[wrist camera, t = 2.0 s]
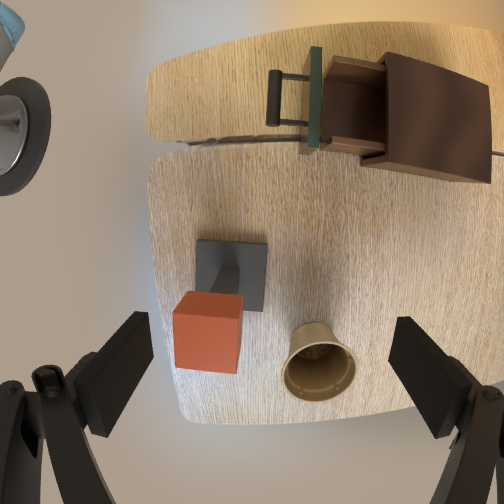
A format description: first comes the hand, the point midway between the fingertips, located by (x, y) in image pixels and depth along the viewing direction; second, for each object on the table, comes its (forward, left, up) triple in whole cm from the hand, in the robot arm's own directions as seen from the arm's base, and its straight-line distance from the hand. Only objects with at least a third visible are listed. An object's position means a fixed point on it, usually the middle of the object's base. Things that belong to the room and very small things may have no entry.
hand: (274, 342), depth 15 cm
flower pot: (+14, -7, -26) cm, 30 cm away
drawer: (-3, +19, -25) cm, 31 cm away
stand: (-1, -6, -26) cm, 27 cm away
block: (-1, -6, -12) cm, 13 cm away
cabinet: (+6, +25, -26) cm, 36 cm away
